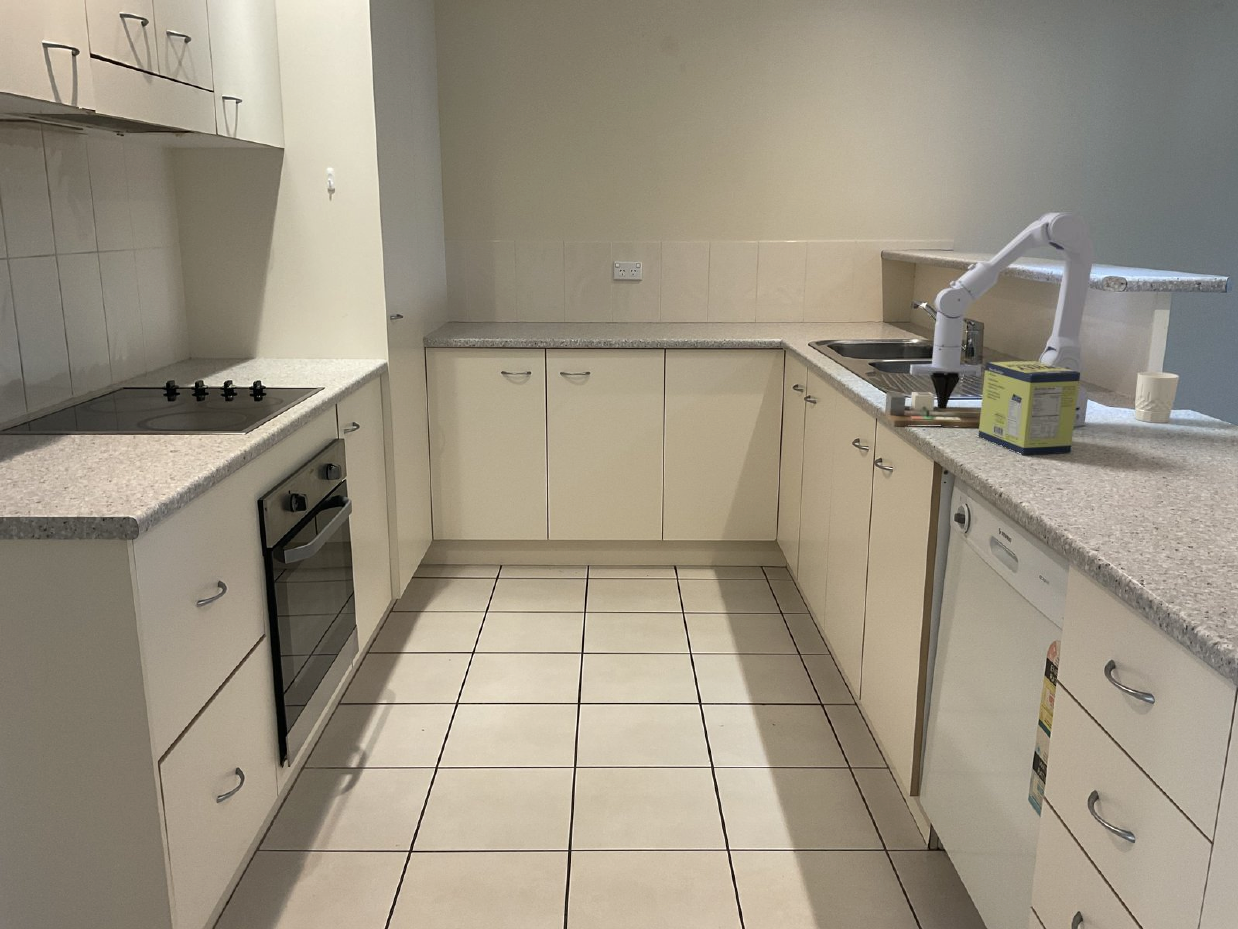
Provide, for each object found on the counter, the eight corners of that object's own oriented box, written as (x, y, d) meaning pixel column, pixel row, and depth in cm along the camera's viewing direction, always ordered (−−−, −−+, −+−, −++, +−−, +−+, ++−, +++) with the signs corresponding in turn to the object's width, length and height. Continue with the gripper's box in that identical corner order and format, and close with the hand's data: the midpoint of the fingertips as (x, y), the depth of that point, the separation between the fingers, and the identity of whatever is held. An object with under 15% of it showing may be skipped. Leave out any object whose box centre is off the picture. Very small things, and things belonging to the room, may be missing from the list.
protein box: (1022, 434, 198) (1031, 359, 194) (1072, 453, 184) (1082, 372, 180) (976, 437, 196) (984, 360, 192) (1022, 456, 181) (1032, 373, 177)
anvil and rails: (982, 411, 214) (983, 393, 213) (989, 417, 208) (991, 399, 207) (885, 409, 216) (886, 392, 215) (890, 415, 210) (891, 397, 209)
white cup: (1133, 422, 210) (1140, 376, 208) (1129, 415, 217) (1135, 370, 215) (1175, 425, 208) (1182, 378, 205) (1168, 417, 215) (1175, 372, 212)
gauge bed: (986, 417, 214) (986, 411, 214) (1000, 428, 204) (1001, 422, 203) (884, 415, 216) (885, 409, 216) (894, 426, 205) (894, 420, 205)
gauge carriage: (928, 410, 214) (930, 391, 213) (937, 417, 206) (938, 398, 205) (910, 409, 214) (911, 391, 213) (917, 417, 207) (919, 398, 206)
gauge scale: (957, 418, 208) (958, 416, 208) (961, 420, 205) (961, 419, 205) (910, 417, 208) (910, 415, 208) (912, 419, 206) (912, 418, 206)
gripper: (977, 343, 211) (971, 404, 215) (909, 342, 212) (904, 403, 216) (986, 347, 204) (979, 411, 208) (916, 346, 206) (910, 409, 209)
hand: (941, 407), depth 211 cm, fingers closed
